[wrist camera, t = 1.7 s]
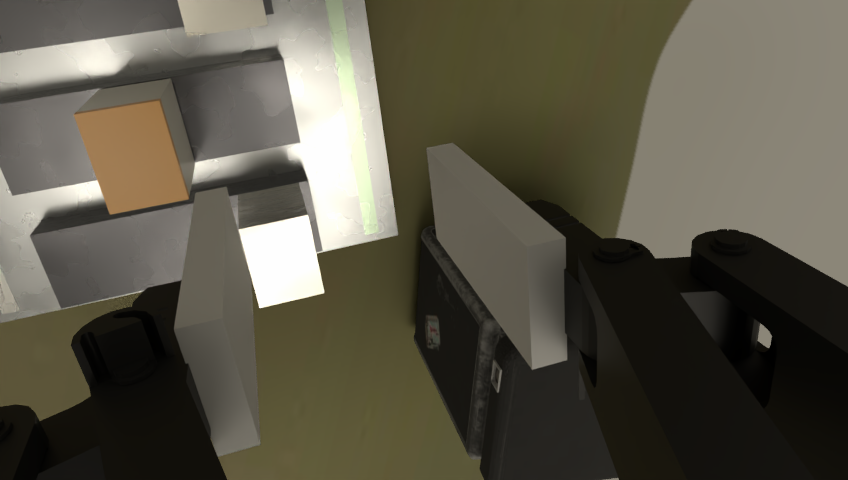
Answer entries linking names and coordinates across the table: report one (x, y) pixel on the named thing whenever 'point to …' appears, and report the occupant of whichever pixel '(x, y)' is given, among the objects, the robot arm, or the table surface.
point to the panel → (201, 48)
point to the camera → (502, 385)
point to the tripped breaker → (137, 145)
